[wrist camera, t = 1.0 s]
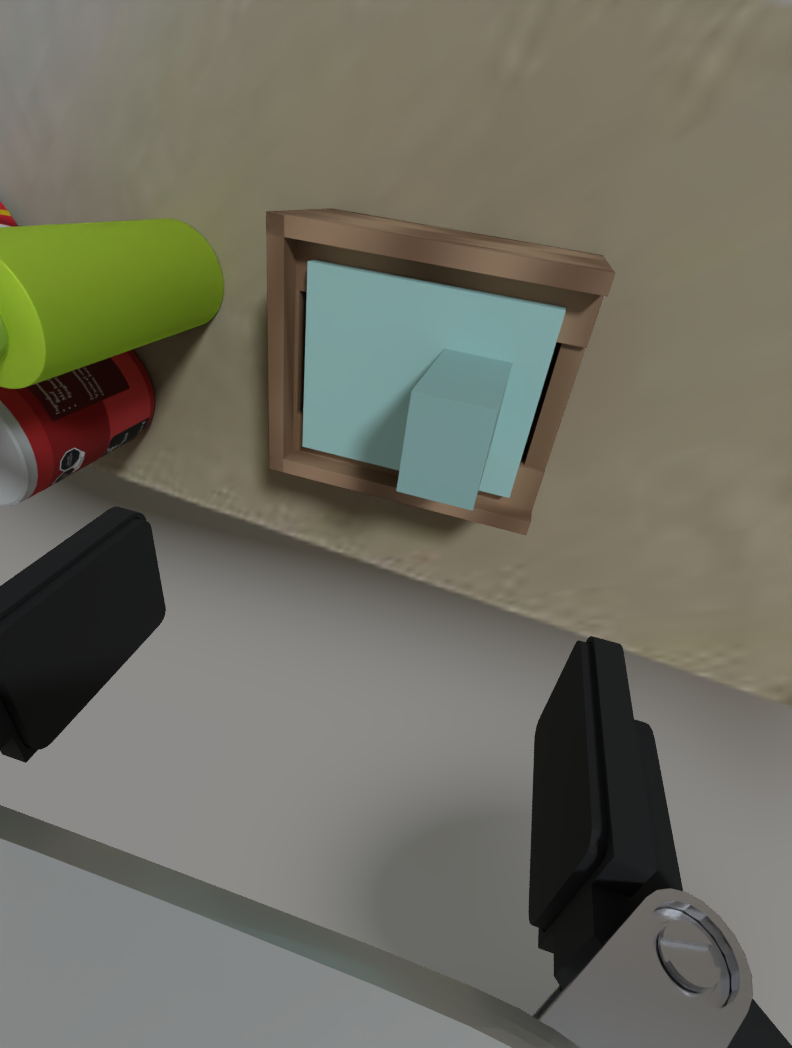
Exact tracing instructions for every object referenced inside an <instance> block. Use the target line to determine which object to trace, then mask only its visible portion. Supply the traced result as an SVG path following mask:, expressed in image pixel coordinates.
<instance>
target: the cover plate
mask: <svg viewBox="0 0 792 1048" xmlns="http://www.w3.org/2000/svg"><path fill="white" fill-rule="evenodd" d="M565 312H566V307H564V306H558V305H553V304H548V303H543V302H537V301H532V300H527V299H521V298H516V297H511V296H506V295H500V294H495V293H490V292H485V291H479V290H474V289H469V288H463V287H458V286H453V285H448V284H442V283H437V282H432V281H427V280H421V279H416V278H411V277H405V276H400V275H395V274H390V273H384V272H379V271H374V270H368V269H363V268H358V267H353V266H347V265H342V264H337V263H332V262H326V261H321V260H316V259H314V260H310V261H308V264H307V300H306V336H305V372H304V408H303V444H302V446H303V447H307V448H311V449H315V450H319V451H323V452H327V453H331V454H335V455H339V456H343V457H347V458H351V459H355V460H359V461H363V462H367V463H371V464H375V465H379V466H383V467H387V468H391V469H395V470H399V477H398V483H397V490H396V491H397V492H401V493H405V494H409V495H413V496H417V497H421V498H425V499H429V500H433V501H436V502H440V503H444V504H448V505H452V506H456V507H460V508H464V509H468V510H472V511H473V508H474V504H475V501H476V497H477V494H478V490H479V491H483V492H487V493H491V494H495V495H499V496H503V497H507V498H510V494H511V491H512V488H513V484H514V481H515V478H516V474H517V471H518V468H519V464H520V461H521V458H522V455H523V451H524V448H525V445H526V441H527V438H528V435H529V431H530V428H531V425H532V421H533V418H534V415H535V411H536V408H537V405H538V401H539V398H540V395H541V391H542V388H543V385H544V382H545V378H546V375H547V372H548V368H549V365H550V362H551V358H552V355H553V352H554V348H555V345H556V342H557V338H558V335H559V332H560V328H561V325H562V322H563V318H564V315H565Z"/></svg>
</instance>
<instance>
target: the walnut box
mask: <svg viewBox="0 0 792 1048" xmlns="http://www.w3.org/2000/svg"><path fill="white" fill-rule="evenodd" d="M266 236H267V313H268V390H269V467H270V469H272V470H276V471H280V472H284V473H288V474H292V475H296V476H299V477H303V478H307V479H311V480H315V481H319V482H323V483H326V484H330V485H334V486H338V487H342V488H346V489H350V490H353V491H357V492H361V493H365V494H369V495H373V496H377V497H380V498H384V499H388V500H392V501H396V502H400V503H404V504H407V505H411V506H415V507H419V508H423V509H427V510H431V511H434V512H438V513H442V514H446V515H450V516H454V517H458V518H462V519H465V520H469V521H473V522H477V523H481V524H485V525H489V526H492V527H496V528H500V529H504V530H508V531H512V532H516V533H519V534H523V535H526V534H527V532H528V529H529V526H530V523H531V514H532V508H533V505H534V502H535V499H536V496H537V493H538V490H539V487H540V484H541V481H542V478H543V475H544V472H545V467H546V464H547V461H548V458H549V455H550V452H551V449H552V446H553V443H554V440H555V437H556V435H557V432H558V429H559V426H560V423H561V420H562V417H563V414H564V411H565V408H566V405H567V402H568V399H569V396H570V393H571V390H572V387H573V384H574V381H575V378H576V375H577V372H578V369H579V366H580V363H581V360H582V357H583V354H584V351H585V348H587V345H588V342H589V339H590V336H591V333H592V330H593V327H594V324H595V321H596V318H597V315H598V312H599V309H600V306H601V303H602V300H603V297H604V296H608V293H609V290H610V287H611V285H612V282H613V279H614V276H615V272H614V271H613V269H612V268H611V267H610V265H609V264H608V262H607V261H606V259H605V258H604V257H603V255H597V254H592V253H586V252H580V251H574V250H568V249H563V248H557V247H551V246H545V245H539V244H534V243H528V242H522V241H516V240H510V239H505V238H499V237H493V236H487V235H481V234H476V233H470V232H464V231H458V230H453V229H447V228H441V227H435V226H429V225H424V224H418V223H412V222H406V221H400V220H395V219H389V218H383V217H377V216H371V215H366V214H360V213H354V212H348V211H342V210H337V209H310V210H288V211H267V212H266ZM314 259H316V260H321V261H326V262H332V263H337V264H342V265H347V266H353V267H358V268H363V269H368V270H374V271H379V272H384V273H390V274H395V275H400V276H405V277H411V278H416V279H421V280H427V281H432V282H437V283H442V284H448V285H453V286H458V287H463V288H469V289H474V290H479V291H485V292H490V293H495V294H500V295H506V296H511V297H516V298H521V299H527V300H532V301H537V302H543V303H548V304H553V305H558V306H564V307H566V312H565V315H564V318H563V322H562V325H561V328H560V332H559V335H558V338H557V342H556V345H555V348H554V352H553V355H552V358H551V362H550V365H549V368H548V372H547V375H546V378H545V382H544V385H543V388H542V391H541V395H540V398H539V401H538V405H537V408H536V411H535V415H534V418H533V421H532V425H531V428H530V431H529V435H528V438H527V441H526V445H525V448H524V451H523V455H522V458H521V461H520V464H519V468H518V471H517V474H516V478H515V481H514V484H513V488H512V491H511V494H510V498H507V497H503V496H499V495H495V494H491V493H487V492H483V491H479V490H478V494H477V497H476V501H475V504H474V508H473V511H472V510H468V509H464V508H460V507H456V506H452V505H448V504H444V503H440V502H436V501H433V500H429V499H425V498H421V497H417V496H413V495H409V494H405V493H401V492H397V491H396V490H397V483H398V477H399V470H395V469H391V468H387V467H383V466H379V465H375V464H371V463H367V462H363V461H359V460H355V459H351V458H347V457H343V456H339V455H335V454H331V453H327V452H323V451H319V450H315V449H311V448H307V447H303V446H302V444H303V408H304V372H305V336H306V300H307V264H308V261H310V260H314Z"/></svg>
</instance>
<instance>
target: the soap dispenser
mask: <svg viewBox="0 0 792 1048" xmlns="http://www.w3.org/2000/svg"><path fill="white" fill-rule="evenodd" d="M223 291H224V284H223V276H222V271H221V268H220V265H219V262H218V259H217V257H216V255H215V253H214V251H213V250H212V248H211V246H210V245H209V244H208V242H207V241H206V240H205V239H204V237H203V236H202V235H201V234H200V233H199V232H197V231H196V230H195V229H194V228H192V227H191V226H189V225H188V224H186V223H184V222H181V221H178V220H175V219H150V220H131V221H112V222H94V223H75V224H56V225H37V226H18V227H0V387H4V388H10V389H19V388H24V387H28V386H30V385H33V384H36V383H39V382H42V381H45V380H47V379H50V378H53V377H56V376H59V375H62V374H64V373H67V372H70V371H73V370H76V369H79V368H81V367H84V366H87V365H90V364H93V363H96V362H98V361H101V360H104V359H107V358H110V357H113V356H115V355H118V354H121V353H124V352H127V351H130V350H132V349H135V348H138V347H141V346H144V345H147V344H149V343H152V342H155V341H158V340H161V339H164V338H166V337H169V336H172V335H175V334H178V333H181V332H183V331H186V330H189V329H192V328H195V327H198V326H200V325H203V324H205V323H207V322H209V321H210V320H211V319H212V318H213V317H214V316H215V315H216V313H217V312H218V310H219V308H220V306H221V303H222V299H223Z"/></svg>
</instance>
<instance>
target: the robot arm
mask: <svg viewBox="0 0 792 1048" xmlns="http://www.w3.org/2000/svg"><path fill="white" fill-rule="evenodd" d="M165 611H166V609H165V603H164V597H163V592H162V586H161V580H160V574H159V568H158V564H157V557H156V551H155V546H154V540H153V535H152V529H151V525H150V524H149V523H148V522H147V521H146V518H145V517H144V515H143V514H141V513H139V512H135V511H132V510H128V509H124V508H121V507H113V508H111V509H109V510H107V511H106V512H105V513H103V514H102V515H100V516H99V517H97V518H96V519H95V520H93V521H92V522H90V523H89V524H88V525H86V526H85V527H83V528H82V529H80V530H79V531H78V532H76V533H75V534H73V535H72V536H71V537H69V538H68V539H66V540H65V541H64V542H62V543H61V544H59V545H58V546H56V547H55V548H54V549H52V550H51V551H49V552H48V553H46V554H45V555H44V556H42V557H41V558H39V559H38V560H37V561H35V562H34V563H33V564H31V565H30V566H28V567H27V568H25V569H24V570H23V571H21V572H20V573H18V574H17V575H15V576H14V577H13V578H11V579H10V580H8V581H7V582H5V583H4V584H3V585H1V586H0V751H1V753H2V754H3V755H6V756H9V757H11V758H14V759H17V760H20V761H23V762H27V761H28V760H29V759H30V758H31V757H32V756H33V754H34V753H35V752H36V751H37V750H38V749H43V748H45V747H47V746H48V745H49V744H51V743H52V742H53V740H54V739H55V738H56V737H57V736H58V735H59V734H60V733H61V732H62V731H63V730H64V729H65V727H66V726H67V725H68V724H69V723H70V722H71V721H72V720H73V719H74V718H75V717H76V715H77V714H78V713H79V712H80V711H81V710H82V709H83V708H84V707H85V706H86V705H87V703H88V702H89V701H90V700H91V699H92V698H93V697H94V696H95V695H96V694H97V693H98V691H99V690H100V689H101V688H102V687H103V686H104V685H105V684H106V683H107V682H108V681H109V679H110V678H111V677H112V676H113V675H114V674H115V673H116V672H117V671H118V670H119V669H120V667H121V666H122V665H123V664H124V663H125V662H126V661H127V660H128V659H129V658H130V657H131V655H132V654H133V653H134V652H135V651H136V650H137V649H138V648H139V647H140V646H141V644H142V643H143V642H144V641H145V640H146V639H147V638H148V637H149V636H150V635H151V634H152V633H153V631H154V630H155V629H156V628H157V627H158V626H159V625H160V623H161V622H162V620H163V619H164V616H165ZM530 861H531V862H530V888H529V921H530V924H532V925H533V926H536V927H539V937H538V948H540V949H543V950H545V951H548V952H551V953H554V977H555V978H556V980H557V981H558V983H559V986H558V987H557V988H556V989H555V991H554V992H553V993H552V994H551V995H550V996H549V997H548V998H547V1000H546V1001H545V1002H544V1003H543V1004H542V1005H541V1006H540V1008H539V1009H538V1010H537V1011H536V1012H535V1013H534V1014H533V1016H531V1015H529V1014H527V1013H526V1012H524V1011H522V1010H521V1009H519V1008H517V1007H515V1006H512V1005H510V1004H508V1003H506V1002H504V1001H502V1000H500V999H497V998H495V997H493V996H491V995H489V994H487V993H485V992H483V991H480V990H478V989H476V988H474V987H472V986H470V985H467V984H465V983H462V982H460V981H458V980H455V979H453V978H450V977H448V976H445V975H443V974H440V973H438V972H435V971H433V970H430V969H428V968H426V967H423V966H420V965H418V964H415V963H413V962H411V961H408V960H406V959H403V958H401V957H398V956H396V955H393V954H391V953H388V952H386V951H383V950H381V949H379V948H376V947H374V946H371V945H368V944H366V943H363V942H360V941H358V940H355V939H353V938H350V937H347V936H345V935H342V934H340V933H337V932H334V931H332V930H329V929H327V928H324V927H321V926H319V925H316V924H313V923H311V922H308V921H306V920H303V919H301V918H298V917H295V916H293V915H290V914H288V913H285V912H282V911H280V910H277V909H274V908H272V907H269V906H267V905H264V904H261V903H259V902H256V901H254V900H251V899H248V898H246V897H243V896H241V895H238V894H235V893H233V892H230V891H227V890H225V889H222V888H219V887H216V886H214V885H212V884H209V883H206V882H204V881H201V880H198V879H195V878H193V877H190V876H188V875H185V874H183V873H180V872H177V871H175V870H172V869H169V868H167V867H164V866H161V865H159V864H156V863H153V862H151V861H148V860H145V859H143V858H140V857H137V856H135V855H132V854H129V853H127V852H124V851H122V850H119V849H116V848H114V847H111V846H108V845H106V844H103V843H100V842H98V841H95V840H92V839H90V838H87V837H84V836H82V835H79V834H76V833H74V832H71V831H68V830H66V829H63V828H60V827H58V826H54V825H52V824H49V823H47V822H44V821H41V820H39V819H36V818H33V817H30V816H28V815H25V814H23V813H20V812H17V811H14V810H12V809H9V808H6V807H4V806H1V805H0V1048H792V1046H791V1045H790V1043H789V1042H788V1041H787V1040H786V1038H785V1037H784V1036H783V1035H782V1034H781V1032H780V1031H779V1030H778V1029H777V1028H776V1026H775V1025H774V1024H773V1023H772V1022H771V1020H770V1019H769V1018H768V1017H767V1015H766V1014H765V1013H764V1012H763V1011H762V1009H761V1008H760V1007H759V1006H758V1005H757V1003H756V1002H755V1001H754V1000H753V999H752V997H753V987H752V974H751V971H750V968H749V965H748V962H747V959H746V956H745V953H744V951H743V950H742V948H741V946H740V944H739V942H738V940H737V939H736V937H735V935H734V933H733V932H732V931H731V930H730V928H729V927H728V926H727V925H726V923H725V922H724V921H723V920H722V919H721V917H720V916H719V915H718V914H717V913H716V912H715V911H713V910H712V909H711V908H710V907H709V906H708V905H706V904H705V903H704V902H703V901H701V900H699V899H698V898H696V897H694V896H692V895H690V894H689V893H687V892H683V888H682V884H681V878H680V872H679V867H678V862H677V856H676V851H675V846H674V841H673V835H672V830H671V824H670V820H669V813H668V808H667V804H666V797H665V792H664V787H663V781H662V776H661V770H660V765H659V760H658V754H657V749H656V744H655V738H654V735H653V731H652V729H651V727H650V726H649V724H647V723H644V722H641V721H638V720H634V717H633V710H632V704H631V697H630V691H629V685H628V678H627V672H626V665H625V658H624V652H623V648H622V646H621V644H618V643H614V642H611V641H607V640H604V639H600V638H596V637H593V636H590V637H589V638H588V639H587V641H586V642H582V641H577V642H576V644H575V646H574V648H573V650H572V652H571V654H570V656H569V658H568V660H567V662H566V665H565V667H564V669H563V671H562V673H561V675H560V677H559V679H558V681H557V683H556V685H555V688H554V690H553V692H552V694H551V696H550V698H549V700H548V702H547V704H546V706H545V708H544V710H543V712H542V714H541V716H540V719H539V721H538V724H537V727H536V732H535V742H534V772H533V801H532V830H531V859H530Z"/></svg>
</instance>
